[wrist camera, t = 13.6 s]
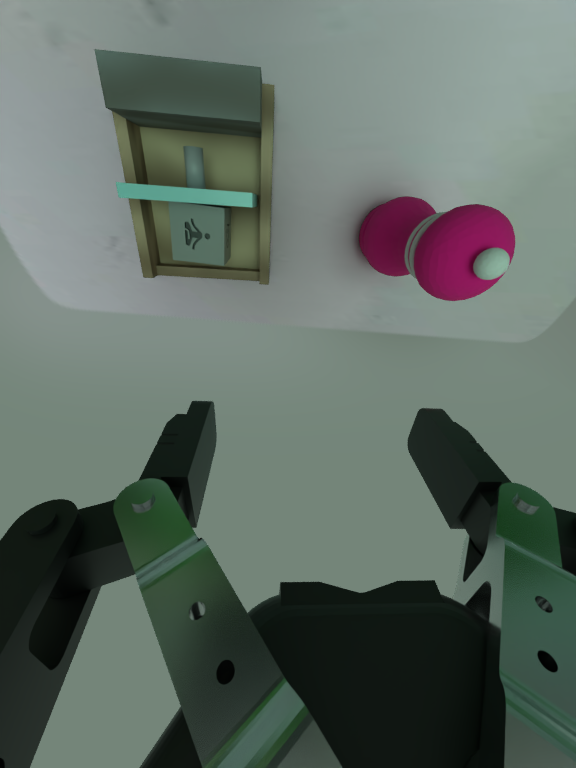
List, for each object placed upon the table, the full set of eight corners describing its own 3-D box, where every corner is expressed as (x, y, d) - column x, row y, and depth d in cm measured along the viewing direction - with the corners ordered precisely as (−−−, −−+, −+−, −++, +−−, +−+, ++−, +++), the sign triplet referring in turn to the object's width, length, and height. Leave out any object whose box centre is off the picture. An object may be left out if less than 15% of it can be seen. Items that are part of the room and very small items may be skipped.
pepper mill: (370, 279, 36) (456, 348, 19) (343, 224, 33) (417, 248, 16) (426, 243, 34) (576, 284, 17) (403, 181, 31) (561, 154, 14)
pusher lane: (123, 83, 26) (79, 47, 20) (274, 98, 27) (274, 68, 21) (155, 270, 34) (130, 284, 29) (269, 277, 35) (267, 292, 29)
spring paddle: (146, 149, 28) (105, 132, 21) (257, 159, 29) (252, 145, 22) (154, 198, 30) (118, 197, 23) (257, 206, 31) (252, 207, 24)
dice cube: (183, 200, 30) (168, 200, 26) (231, 207, 31) (224, 208, 27) (186, 252, 33) (173, 259, 29) (230, 257, 34) (224, 265, 29)
